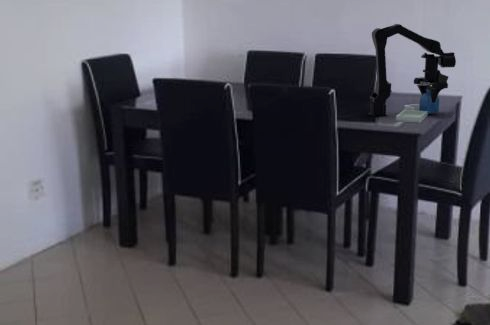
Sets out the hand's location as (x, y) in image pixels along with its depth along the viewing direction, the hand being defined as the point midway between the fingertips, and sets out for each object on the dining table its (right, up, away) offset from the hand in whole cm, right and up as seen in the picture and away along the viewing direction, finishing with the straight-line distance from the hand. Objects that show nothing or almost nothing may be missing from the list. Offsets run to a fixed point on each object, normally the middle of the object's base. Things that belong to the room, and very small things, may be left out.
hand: (429, 101), depth 302 cm
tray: (-10, -8, -8) cm, 15 cm away
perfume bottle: (0, -5, +1) cm, 5 cm away
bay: (-2, -4, +8) cm, 9 cm away
